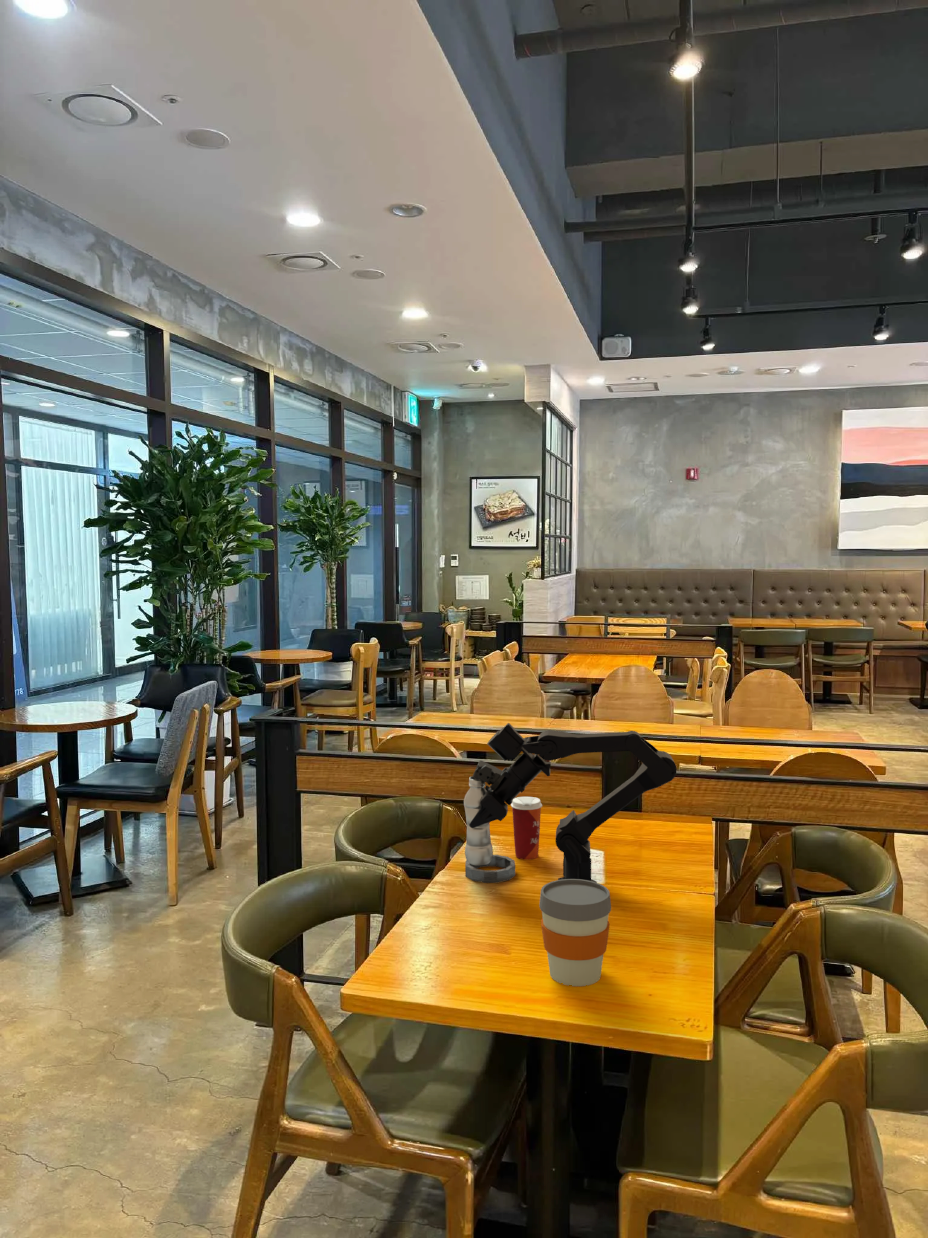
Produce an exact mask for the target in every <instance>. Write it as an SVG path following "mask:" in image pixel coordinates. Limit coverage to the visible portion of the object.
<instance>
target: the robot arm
mask: <svg viewBox="0 0 928 1238" xmlns="http://www.w3.org/2000/svg"><path fill="white" fill-rule="evenodd" d="M486 745H487V746H488V747H490V748H491V749H492V750H493V751H494V752H495V753H496V754H497V755H498V756H499V757H500V758H501V759H502V760H503V761H504V762H506V761H508V762H509V761H511V762H512V761H513V760H515V761H514V762H513V763H512V764H511V765H509V766H506V767H504V768H503V769H500V768H498V767H497V766H495V765H492V764H490V763H487V762H485V761H483V760H479V761H478V763H477V765H476V767H475V770H474V771H473V774H472V776H473V777H474V778H476V779H480V780H482V781H484V782H485V786H484V788H485V789H486V791H487V793H486V794H485V795H484V796H483V797H481V800H480V803H481V808H480V809H479V811H478V812H477V814H476V815H475V817H474V818H473V819H472V821H471V822H470V824H469V826H470V827H471V828H475V827H477V826H480V825H483V824H486V823H488V822H490V823H491V822H494V821H499V822H501V821H503V820H504V818H506V817H507V815H508V811H509V810H508V809H509V807H508V806H511V804H512V802H513V799H514V798H517V796H518V795H519V794H520V793H521V794H522V793H523V792H524V791H525V790H526V787H527V786H528V785H530V783H531V782H532V781H534V779H535V778H536V777H537V776H538V775H539V774H540V773H541V772H542V773H543V774H544V775H545V776H547V777H550V776H551V765H552V762H551V761H554V760H559V759H563V758H567V757H570V756H573V755H577V754H589V753H590V754H591V753H608V752H609V753H610V752H611V753H613V752H631V753H632V754H633V755H634V757H636V758H637V759H638V760H639V761H640V762H641V763H642V764H641V765H640V766H639V768H638V769H637V770H636V772H635V773H634V774H633V775H632V776H631V777H630V778H628V780H627V779H626V781H624V782H623V783H622V784H621V785H619V786H618V787H617V788H614V790H613V791H611V792H610V793H609V794H607V795H606V796H605V797H603V798H602V799H601V800H599V801H598V802H597V803H595V804H594V805H593V806H591V807H590V808H589V809H587V810H586V811H585V812H581V813H579V814H577V813H576V811H575V810H571V812H569V813H568V814H567V816H565V817H563V818H560V819H559V824H557V826H556V830H555V839H554V840H555V846H556V848H557V849H558V850H559V851H560V852H562V853H563V860H562V876H561V877H558V878H557V880H562V879H582V880H588V881H593V882H596V883H598V881H596V880H594V879H592V858H591V854H592V853H591V842H590V840H589V839H590V837H591V836H592V834H593V833H594V832H595V830H596V829H597V828H599V827H600V826H601V825H603V824H604V823H605V822H607V821H608V820H609V819H611V818H612V817H614V815H616V814H617V813H619V812H620V811H621V810H622V809H624V808H625V807H627V806H628V805H630V804H631V803H632V802H633V801H635V800H637V798H639V797H640V796H641V795H643V794H644V793H645V792H648V791H651V790H654V789H658V788H660V787H662V786H664V785H666V784H668V783H670V782H672V781H673V779H675V778H676V775H677V765H676V763H675V760H674V759H673V757H672V755H671V754H669V753H668V752H666V751H664V750H663V751H662V750H659V749H658V748H656V747H655V746H654V745H653V744H651V743H650V742H649V741H648V740H646V739H645V738H644V737H642V736H641V734H640V733H639V732H638V731H636V730H629V731H619V732H601V733H600V732H599V733H581V734H580V733H579V734H577V733H570V732H566V731H563V730H562V731H561V730H552V729H547V730H544V731H542V732H541V733H540V734H539V735H532V736H525V737H523V736H522V735H521V734H520V733H519V732H518V731H517V730H516V729H515V728H514V726H513V725H512V724H511V723H509V722H508V723H507V724H506V725H504V726H503V727H502V728H501V729H500V730H497V731H496V732H495V733H494V734H493V736H492V737H491V738H490V739H489V740H488V742H487V744H486ZM521 753H522V754H521ZM520 754H521V755H520ZM518 756H519V757H518ZM516 758H517V759H516ZM486 783H487V784H486Z"/></svg>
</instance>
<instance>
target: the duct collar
mask: <svg viewBox="0 0 928 1238" xmlns="http://www.w3.org/2000/svg"><path fill="white" fill-rule="evenodd" d="M464 865H465V867H464V869H465V875H464V876H465V877H467V878H468V879H469V880H471V881H473V882H479V883H484V884H485V883H487V884H488V883H489V884H491V883H492V884H493V883H494V884H495V883H496V884H499V883H504V882H507V881H510V880H511V879H513V878H515V876H516V861H515V860H514V859H513V858H511V857H509V856H506V855H501V854H493V856H492V860H491V861H490V863H488V864H486V865H472V864H469V863H468V862H467V860H466V859H465V864H464ZM484 867H496V868H501V869H496V870H491V869H490V870H488V869H487V870H485V869H479V868H484Z"/></svg>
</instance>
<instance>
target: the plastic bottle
mask: <svg viewBox="0 0 928 1238" xmlns="http://www.w3.org/2000/svg"><path fill="white" fill-rule="evenodd" d="M468 786H469V789H468V790H467V792H466V793H465V795H464V798H463V806H464V811H465V812H464V813H465V819H466V843H465V847H464V848H465V849H464V855H465V861H466V860H467V862H468V863H469V864H472V865H486V864H488V863H490V861H491V860H492V856H493V855H494V849H493V844H492V839H491V831H490V830H491V829H490V823H491V822H488V823H486V824H483V825H480V826H477V827H475V828H471V827H470V826H469V824H470V822H471V821H472V819H473V818H474V817H475V815H476V814H477V812H478V811H479V809H480V808H481V803H480V800H481V797H483V796H484V795H485V794H486V793H487V791H486V789H485V787H486V782H484V781H482V780H480V779H476V778H474V777H473V775H472V776H469V779H468Z"/></svg>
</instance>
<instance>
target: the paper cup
mask: <svg viewBox="0 0 928 1238" xmlns="http://www.w3.org/2000/svg"><path fill="white" fill-rule="evenodd" d="M541 802H542V801H541V799H540V798H538V797H533V796H518V797H517V796H516V797H515V798H514V799H513V801H512V803H511V804H510V806H511V809H512V811H511V812H512V823H513V824H512V825H513V826H512V827H513V840H514V841H513V842H514V853H515V857H516V858H517V859H520V860H527V861H529V860H535V859H537V858H538V856H539V849H540V848H539V847H540V845H539V844H540V829H541V815H542V814H541V811H542V807H543V804H542V803H541Z"/></svg>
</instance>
